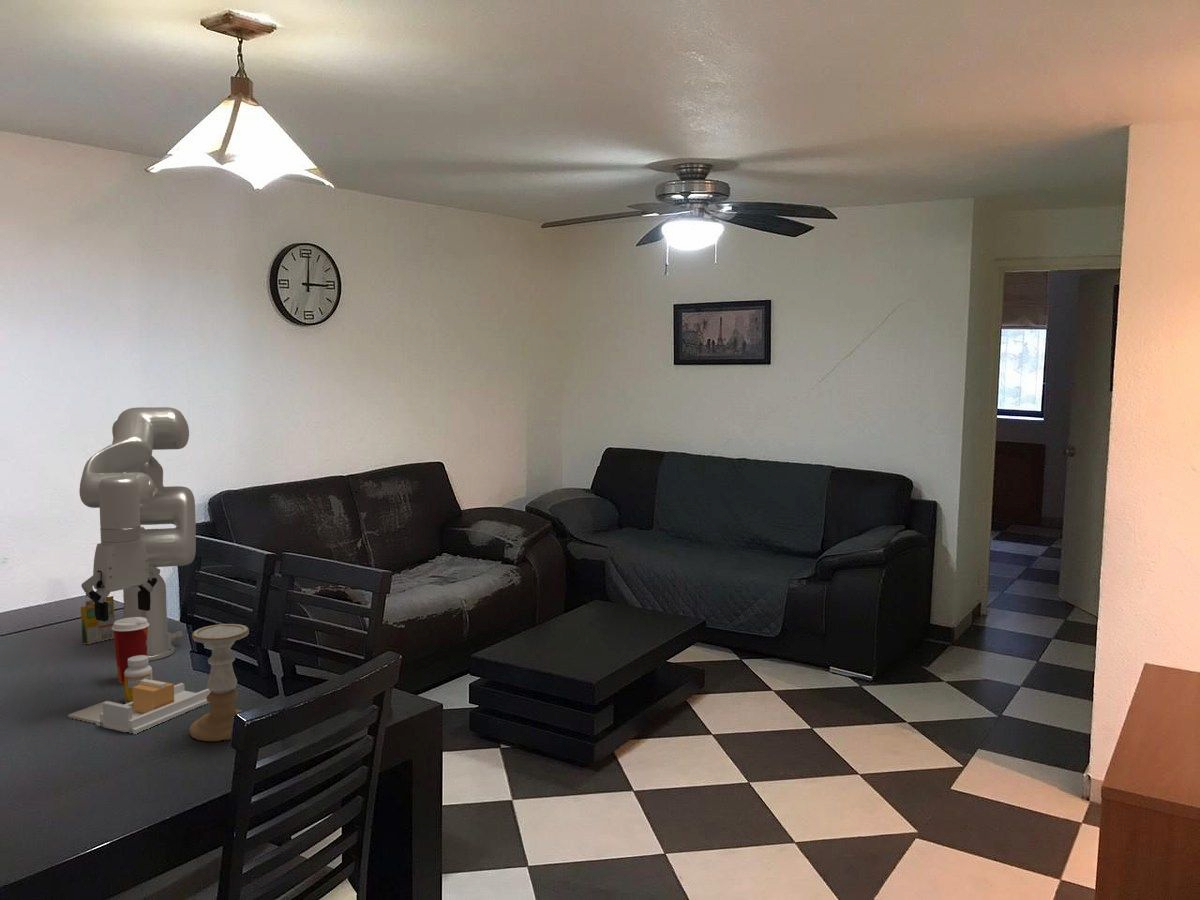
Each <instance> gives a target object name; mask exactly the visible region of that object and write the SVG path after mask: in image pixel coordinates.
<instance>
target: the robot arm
mask: <svg viewBox="0 0 1200 900" xmlns="http://www.w3.org/2000/svg"><path fill="white" fill-rule="evenodd" d="M189 427H190V426H189V424H188V421H187V420H186V418H185V416H184V414H183V413H182V412H181V411H180V410H178V409H177V408H174V407H170V406H169V407H168V406H167V407H166V406H165V407H152V406H151V407H144V406H143V407H130V408H127V409H125V410H123V411H122V412H121V413H119V415H118V417H117V420H114V422H113V424H112V427H111V433H112V444H110V445H107V446H106V447H104V448H102V449H101V450H99V451H98V452H97V453H95V454H94V455H92V456H90V457H89V459H88V460H87V461H86V463H85V465H84V467H83V470H82V474H81V478H80V483H79V490H78V491H79V497H80V501H81V503H83V505H85V506H86V507H88V508H91V509H99V525H100V527H99V528H100V529H99V530H100V531H99V533H100V543H97V544H96V547H95V551H94V558H93V568H92V569H93V571H92V575H91V576H90V577H89V578H87V579H86V580H85V581H83V582H82V583H81V585H80V586H81V588H82V590H83V591H84V593H85V595H86V597H88V598H89V599H90V600H92V601H94V604H95V616H96V620H100V621H108V603H107V602H106V598H107V597H109V595H110V593H112V592H118V591H122V593H123V595H122V597H123V619H124V618H131V617H143V618H146V619H147V621H148V623H149V626H148V639H147V656H148V660H149V661H150V662H151V661H156V660H160V659H161V660H162V659H163V658H166V657H170V656H171V655H173V654H174V653H175V646H174V645H173V644H172V643H173V642H174V641H176V640H179V639H182V638H183V637H184V633H183V631H182V630H178V631H175V632H173V633H171V631H168V619H167V618H168V613H167V612H168V611H167V610H168V609H167V608H168V607H167V586H166V582H165V580H164V577H162V575H160V573H161V569H160V568H164V567H165V568H166V567H167V568H168V567H178V566H179V567H182V566H187V565H190V564H192V563H193V562H194V560H195V557H196V551H197V549H196V548H197V547H196V546H197V544H196V543H197V540H196V539H197V537H196V535H197V534H196V533H197V531H196V525H197V524H196V500H195V496H194V493H193V491H192V490H191V489H190V488H189V487H186V486H179V485H177V486H175V485H174V486H164V468H163V466H162V464H161V463H160V462H159V461H158V460H157V459H156V458H155V457H154V456H153V451H154V450H157V451H159V450H160V451H161V450H162V451H163V450H167V451H168V450H181V449H184V448H185V447H186V446H187V445H188V442H189V438H190V430H189V429H190V428H189ZM150 525H151V526H153V525H155V526H156V525H174V526H175V527H174V528H173V527H169V528H145V527H144V526H150ZM94 589H95V590H94Z"/></svg>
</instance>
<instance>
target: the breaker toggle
mask: <svg viewBox="0 0 1200 900" xmlns="http://www.w3.org/2000/svg"><path fill="white" fill-rule="evenodd" d="M174 685H175V684H174V683H171V682H166V681H161V680H157V679H156V680H155V679H153V680H148V679H143V680H141V681H140V685H137V686H134V687H132V691H133V711H136V712H141V713H147V712H150V711H153V710H155V709H158V708H160V707H163V706H165V705H168V704H170V703H173V702H174Z"/></svg>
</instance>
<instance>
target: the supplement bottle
mask: <svg viewBox="0 0 1200 900" xmlns="http://www.w3.org/2000/svg"><path fill="white" fill-rule="evenodd" d="M128 666H129V668H127V669H126V670H125V672H124V679H125V685H124V698H125V704H127V703H130V702H132V701H133V691H132V687H134V686H137V685H140V681H141V680H143V679H148V680H154V679H153V675H154V674H153V668H152V665H149V660H148V656H146V655H138V656H133V657H130V658H128Z"/></svg>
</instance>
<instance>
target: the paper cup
mask: <svg viewBox="0 0 1200 900" xmlns="http://www.w3.org/2000/svg"><path fill="white" fill-rule="evenodd" d="M148 626H149V623H148V621H147V619H146V618H143V617H131V618H124V617H123V618H120V619H117V620H115V622H114V624H113V627H112V630H113V632H114V639H113V640H114V650H115V659H116V668H117V669H116V670H117V677H118V682H119V684H120V685H124V686H125V679H124V672H125V670H126V669H127V668H129V666H128V658H130V657H133V656H138V655H146V656H147V639H148Z"/></svg>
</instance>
